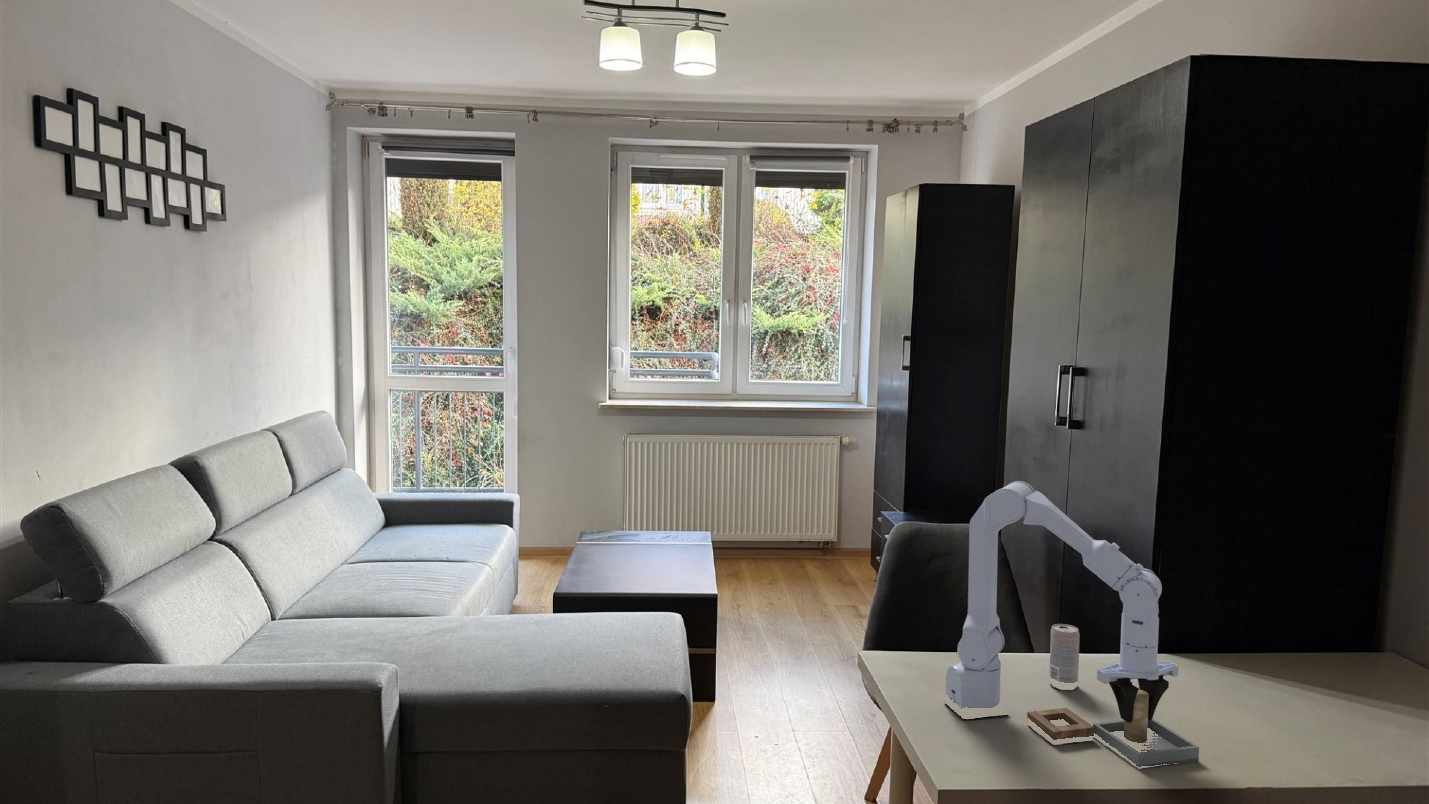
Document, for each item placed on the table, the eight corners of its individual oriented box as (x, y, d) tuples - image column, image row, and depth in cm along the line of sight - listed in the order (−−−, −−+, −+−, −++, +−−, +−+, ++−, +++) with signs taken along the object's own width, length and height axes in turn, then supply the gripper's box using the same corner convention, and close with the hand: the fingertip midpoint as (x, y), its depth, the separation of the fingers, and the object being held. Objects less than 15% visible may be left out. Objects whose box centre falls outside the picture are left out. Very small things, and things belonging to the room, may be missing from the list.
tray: (1137, 769, 143) (1138, 754, 143) (1092, 737, 155) (1093, 723, 154) (1198, 761, 146) (1199, 747, 146) (1149, 730, 157) (1150, 716, 157)
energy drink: (1073, 681, 179) (1074, 624, 178) (1081, 692, 174) (1083, 633, 173) (1046, 680, 180) (1047, 623, 178) (1053, 690, 174) (1055, 632, 173)
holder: (1053, 745, 151) (1053, 732, 151) (1027, 725, 159) (1027, 712, 159) (1093, 740, 153) (1094, 727, 153) (1066, 720, 161) (1066, 707, 161)
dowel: (1133, 743, 149) (1135, 698, 148) (1119, 734, 152) (1120, 689, 152) (1151, 741, 150) (1153, 696, 149) (1136, 731, 153) (1138, 687, 152)
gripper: (1117, 654, 144) (1114, 733, 145) (1193, 646, 147) (1189, 724, 148) (1090, 639, 151) (1087, 715, 152) (1163, 632, 154) (1159, 707, 155)
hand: (1136, 718), depth 151 cm, fingers closed on dowel, 3 cm apart
